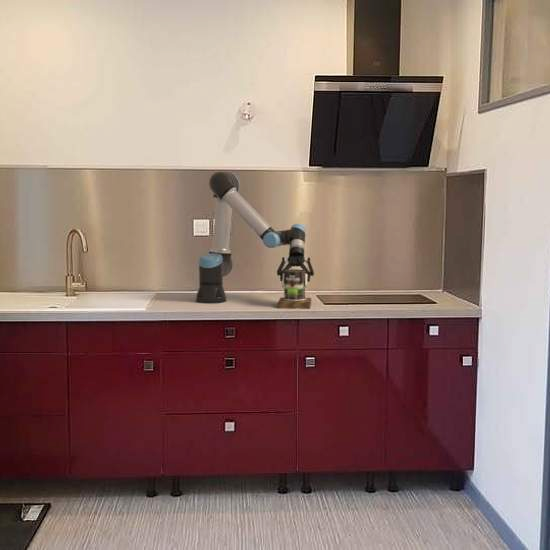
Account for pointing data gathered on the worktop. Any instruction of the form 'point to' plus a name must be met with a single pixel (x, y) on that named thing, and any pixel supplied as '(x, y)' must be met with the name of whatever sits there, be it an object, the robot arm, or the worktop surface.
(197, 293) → the robot arm
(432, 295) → the worktop surface
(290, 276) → the coffee can
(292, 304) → the walnut board
